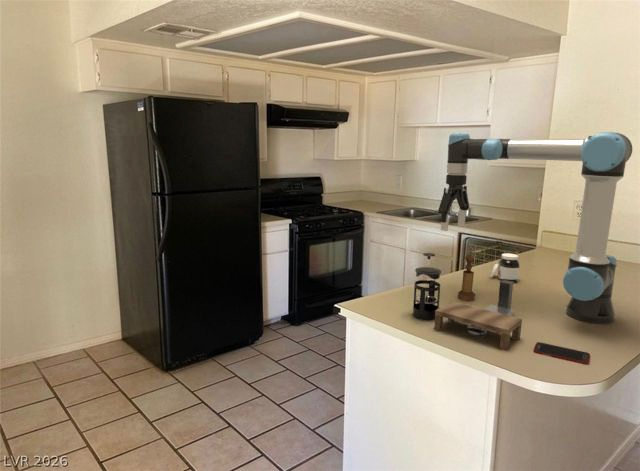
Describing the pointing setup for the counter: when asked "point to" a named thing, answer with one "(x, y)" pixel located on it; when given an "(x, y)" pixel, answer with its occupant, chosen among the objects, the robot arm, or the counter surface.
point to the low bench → (480, 320)
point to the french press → (426, 302)
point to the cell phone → (562, 353)
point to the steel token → (476, 331)
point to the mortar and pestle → (467, 282)
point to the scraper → (503, 299)
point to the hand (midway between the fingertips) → (452, 228)
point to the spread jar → (507, 268)
